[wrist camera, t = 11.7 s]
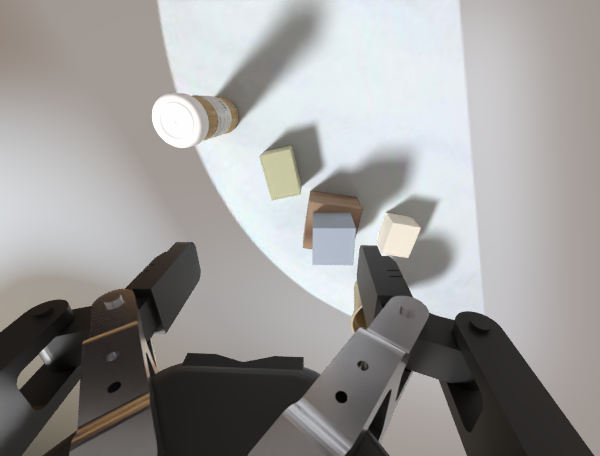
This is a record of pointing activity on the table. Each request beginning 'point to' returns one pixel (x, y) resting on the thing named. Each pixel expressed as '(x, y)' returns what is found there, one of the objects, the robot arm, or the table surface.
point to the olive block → (281, 172)
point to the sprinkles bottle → (192, 118)
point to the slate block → (333, 239)
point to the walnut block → (329, 211)
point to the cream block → (397, 235)
